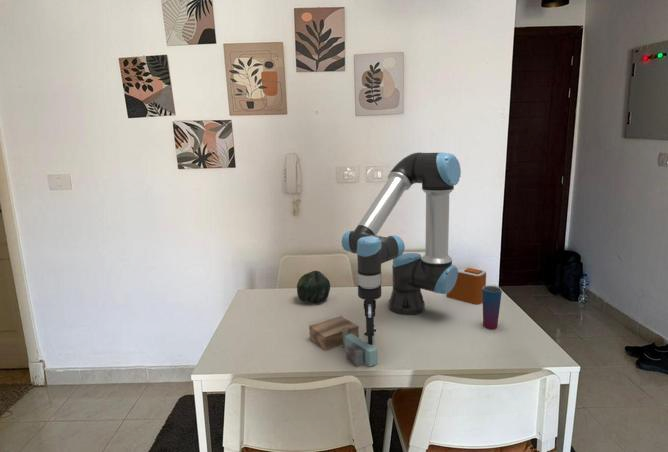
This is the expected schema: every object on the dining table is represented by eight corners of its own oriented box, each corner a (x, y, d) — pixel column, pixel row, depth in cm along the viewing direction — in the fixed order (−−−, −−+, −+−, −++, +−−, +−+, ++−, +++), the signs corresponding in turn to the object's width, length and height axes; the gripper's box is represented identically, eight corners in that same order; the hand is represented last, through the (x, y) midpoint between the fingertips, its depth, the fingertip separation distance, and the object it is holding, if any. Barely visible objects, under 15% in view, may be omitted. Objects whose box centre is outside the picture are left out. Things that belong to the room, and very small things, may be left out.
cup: (501, 331, 159) (503, 292, 156) (481, 329, 160) (483, 291, 157) (498, 323, 166) (500, 286, 162) (479, 322, 167) (481, 285, 164)
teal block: (344, 349, 149) (344, 335, 148) (351, 346, 150) (351, 333, 149) (370, 366, 137) (370, 352, 136) (377, 363, 139) (377, 349, 138)
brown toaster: (486, 299, 189) (488, 269, 186) (478, 305, 183) (479, 274, 180) (455, 291, 199) (456, 263, 196) (446, 297, 193) (447, 268, 190)
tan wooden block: (309, 338, 158) (309, 320, 156) (341, 328, 165) (341, 311, 164) (350, 369, 136) (350, 349, 135) (385, 356, 144) (385, 336, 142)
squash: (296, 282, 202) (296, 265, 190) (328, 281, 203) (330, 264, 191) (297, 310, 193) (297, 294, 181) (330, 309, 195) (333, 293, 183)
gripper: (358, 277, 146) (359, 342, 151) (357, 292, 133) (358, 361, 138) (380, 277, 145) (381, 342, 150) (381, 292, 132) (382, 362, 138)
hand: (370, 351), depth 144 cm, fingers closed
